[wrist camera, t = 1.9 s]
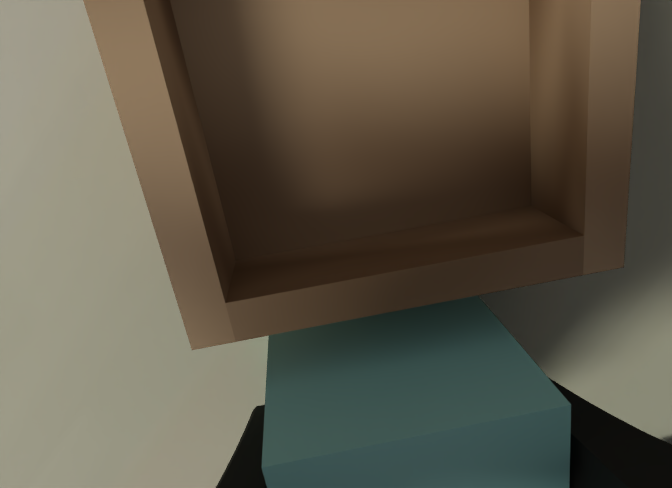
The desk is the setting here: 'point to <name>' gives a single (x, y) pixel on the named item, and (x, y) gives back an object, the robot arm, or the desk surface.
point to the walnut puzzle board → (371, 149)
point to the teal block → (412, 405)
